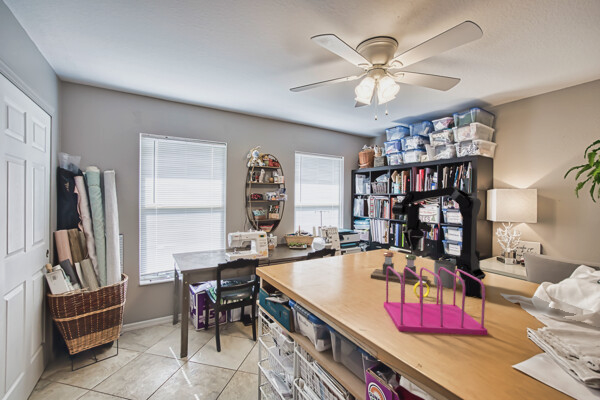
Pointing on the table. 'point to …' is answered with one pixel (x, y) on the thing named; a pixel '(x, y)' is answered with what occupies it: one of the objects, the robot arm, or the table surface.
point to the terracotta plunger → (388, 257)
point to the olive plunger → (410, 260)
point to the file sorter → (434, 310)
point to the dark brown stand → (409, 276)
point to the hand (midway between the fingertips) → (411, 248)
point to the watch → (423, 284)
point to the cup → (444, 273)
